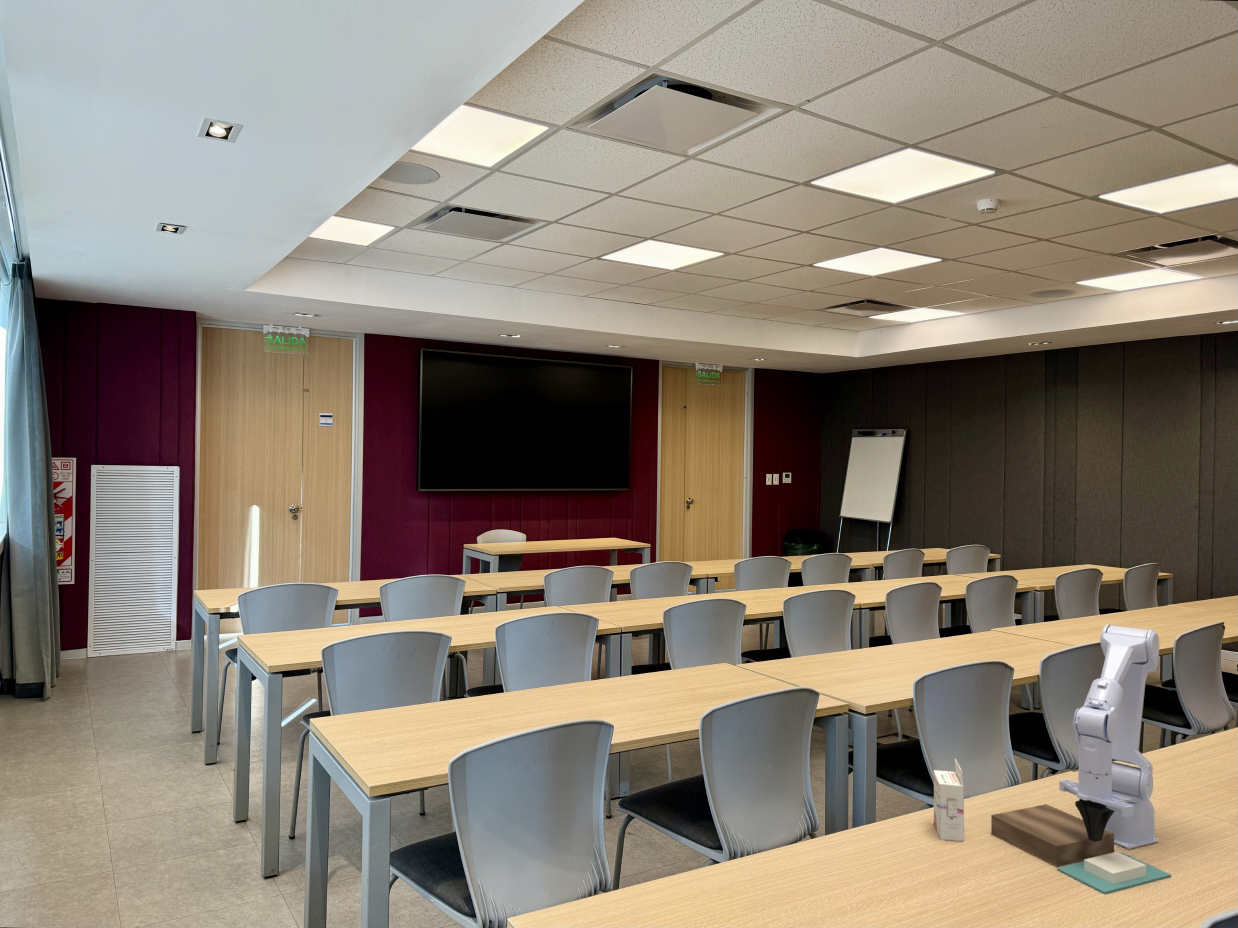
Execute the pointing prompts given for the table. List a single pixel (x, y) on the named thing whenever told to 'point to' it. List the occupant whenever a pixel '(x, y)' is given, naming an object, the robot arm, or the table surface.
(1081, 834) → the stand
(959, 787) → the ink cartridge box
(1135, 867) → the tile
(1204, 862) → the table surface
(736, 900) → the table surface
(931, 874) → the table surface
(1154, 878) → the mat
